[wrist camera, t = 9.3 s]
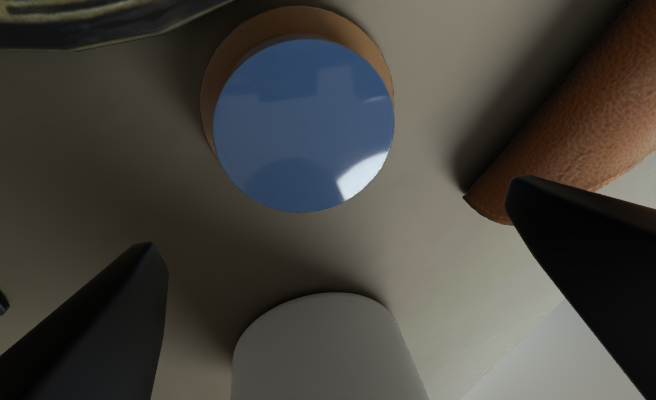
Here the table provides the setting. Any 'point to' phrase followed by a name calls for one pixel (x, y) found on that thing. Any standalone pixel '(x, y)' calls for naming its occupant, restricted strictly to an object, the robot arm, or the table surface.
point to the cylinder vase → (325, 353)
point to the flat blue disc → (302, 123)
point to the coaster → (279, 25)
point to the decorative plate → (92, 22)
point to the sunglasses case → (586, 118)
